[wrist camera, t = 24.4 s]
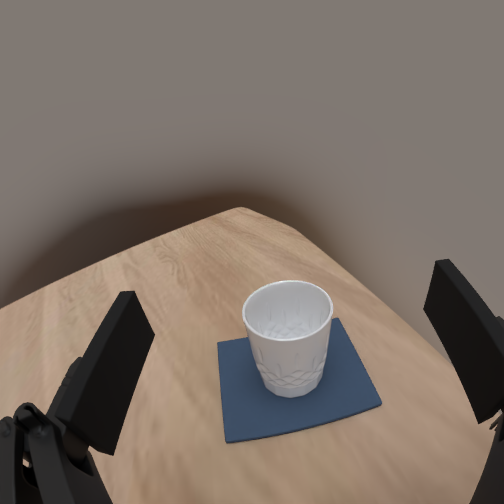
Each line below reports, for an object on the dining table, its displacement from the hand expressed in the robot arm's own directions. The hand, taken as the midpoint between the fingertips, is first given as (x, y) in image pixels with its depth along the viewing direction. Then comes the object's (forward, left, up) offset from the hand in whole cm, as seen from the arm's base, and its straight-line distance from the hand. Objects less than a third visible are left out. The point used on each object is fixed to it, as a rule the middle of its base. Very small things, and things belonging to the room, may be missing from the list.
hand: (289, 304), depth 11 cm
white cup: (-2, -10, -19) cm, 21 cm away
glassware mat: (-2, -10, -19) cm, 22 cm away
